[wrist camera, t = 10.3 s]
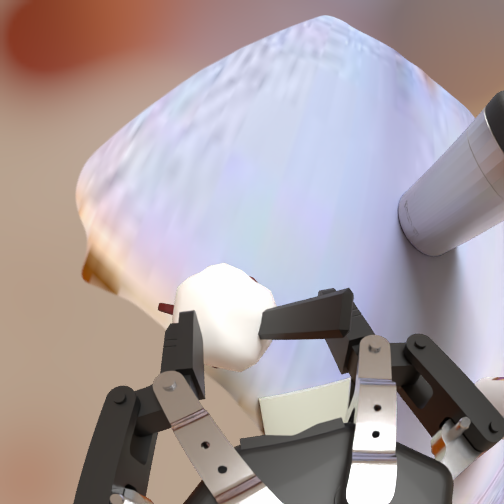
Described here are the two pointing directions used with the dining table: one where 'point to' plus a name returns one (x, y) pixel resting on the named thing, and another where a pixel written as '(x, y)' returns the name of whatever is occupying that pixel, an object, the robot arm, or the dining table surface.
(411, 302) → the dining table surface
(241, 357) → the cocoa
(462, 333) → the dining table surface
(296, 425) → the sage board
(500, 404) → the milk bottle
